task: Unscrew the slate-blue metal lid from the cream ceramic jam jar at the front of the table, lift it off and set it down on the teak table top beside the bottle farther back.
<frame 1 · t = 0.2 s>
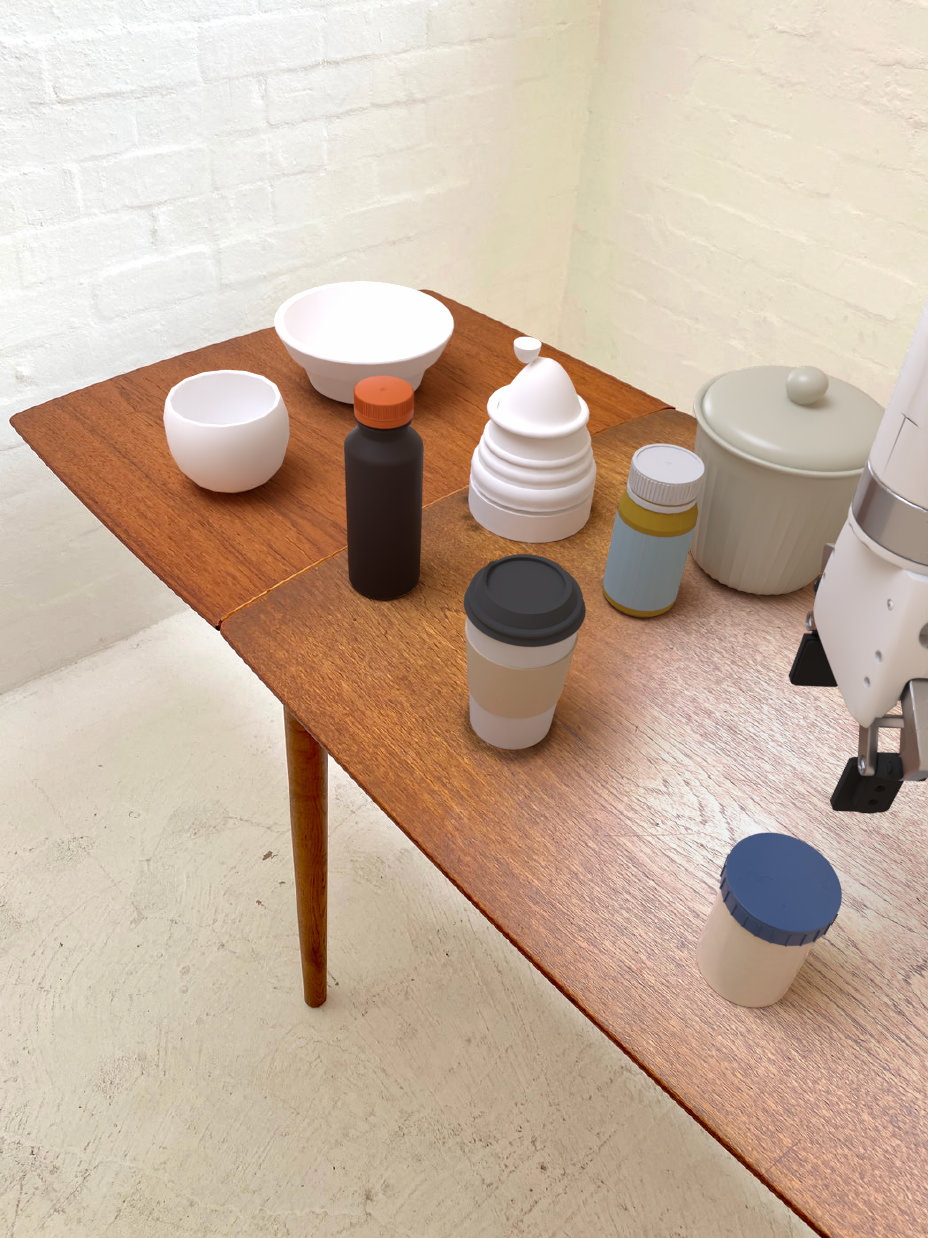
hand: (833, 741, 58), 17 cm above the table, tool pointing down, fingers open, 9 cm apart
jar: (743, 962, 66), on the table
coffee cup: (510, 719, 81), on the table
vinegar: (384, 579, 93), on the table
cup: (234, 479, 104), on the table
bowl: (365, 382, 120), on the table
bottle: (637, 597, 93), on the table
canister: (749, 562, 98), on the table
honey pot: (529, 506, 103), on the table
lid: (782, 882, 59), point 10 cm above the table, screwed on, not yet turned
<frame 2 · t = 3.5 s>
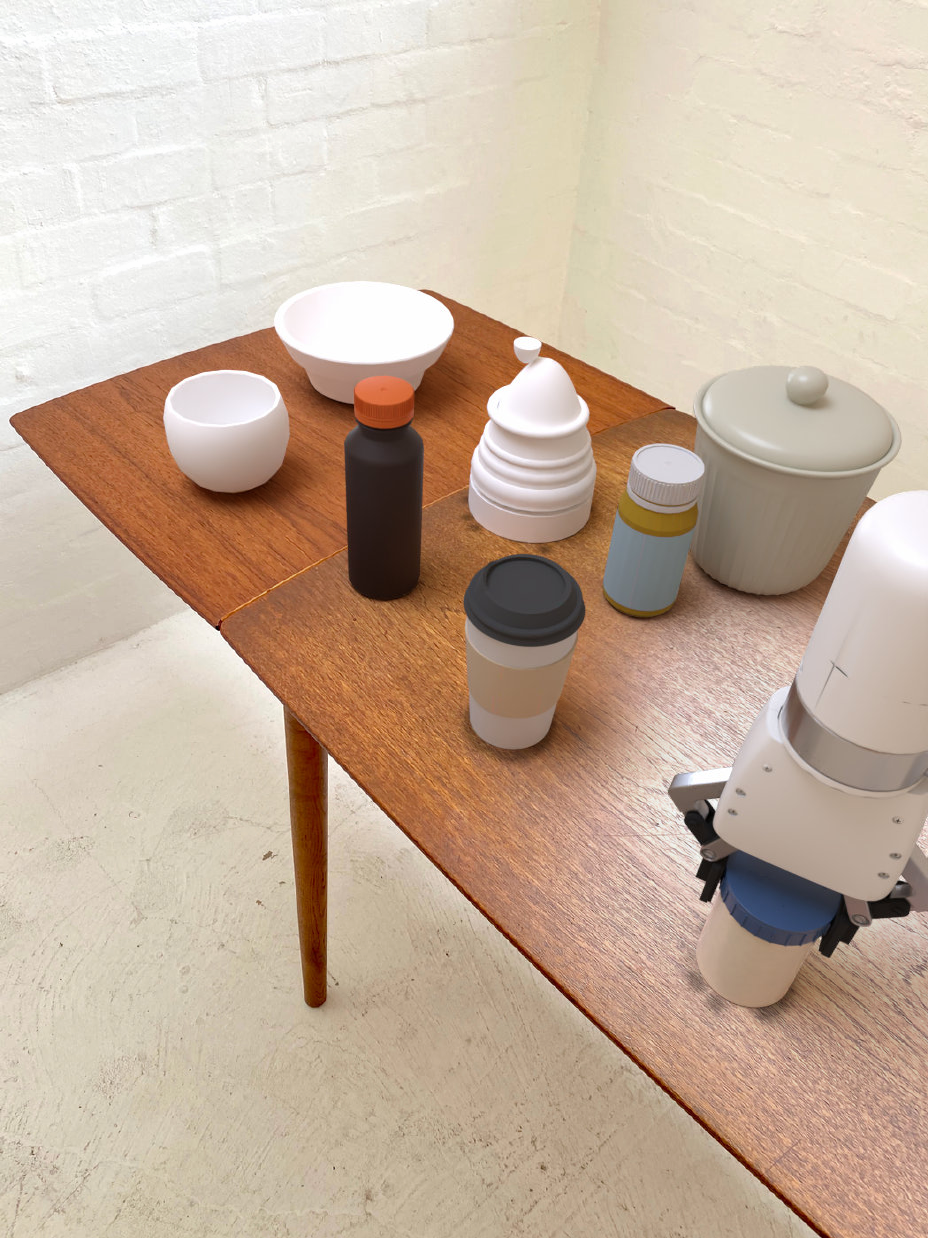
hand: (768, 909, 61), 7 cm above the table, tool pointing down, fingers closed on lid, 6 cm apart
lid: (782, 882, 59), point 10 cm above the table, screwed on, not yet turned, touching gripper
everything else where it was.
when the fingers open (6 cm above the table, at t = 5.7 s): lid stays where it is, point 10 cm above the table.
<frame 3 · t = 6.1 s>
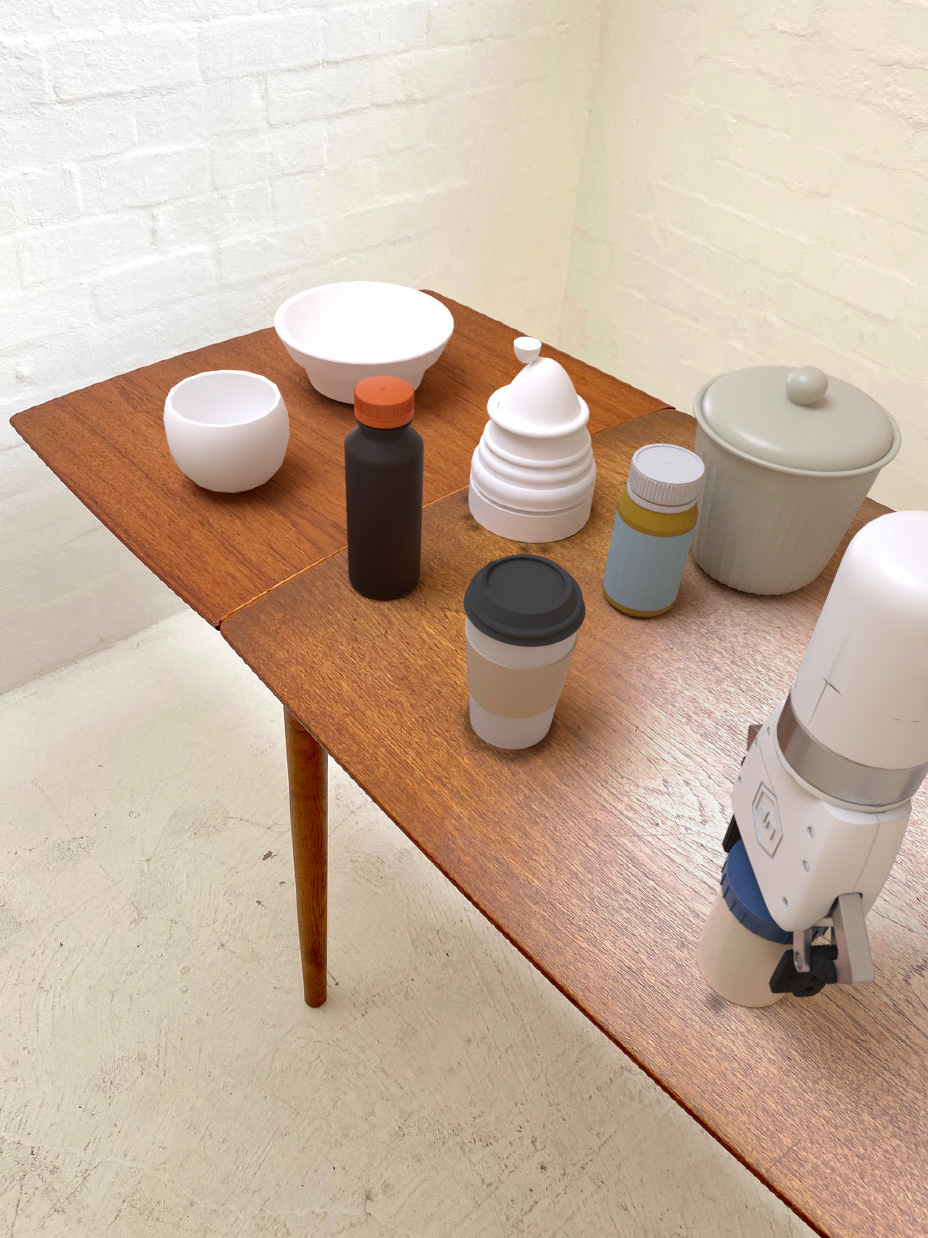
hand: (768, 914, 62), 6 cm above the table, tool pointing down, fingers open, 9 cm apart
lid: (783, 881, 59), point 10 cm above the table, turned 132° so far, risen 0.2 cm, still on its thread
everything else where it was.
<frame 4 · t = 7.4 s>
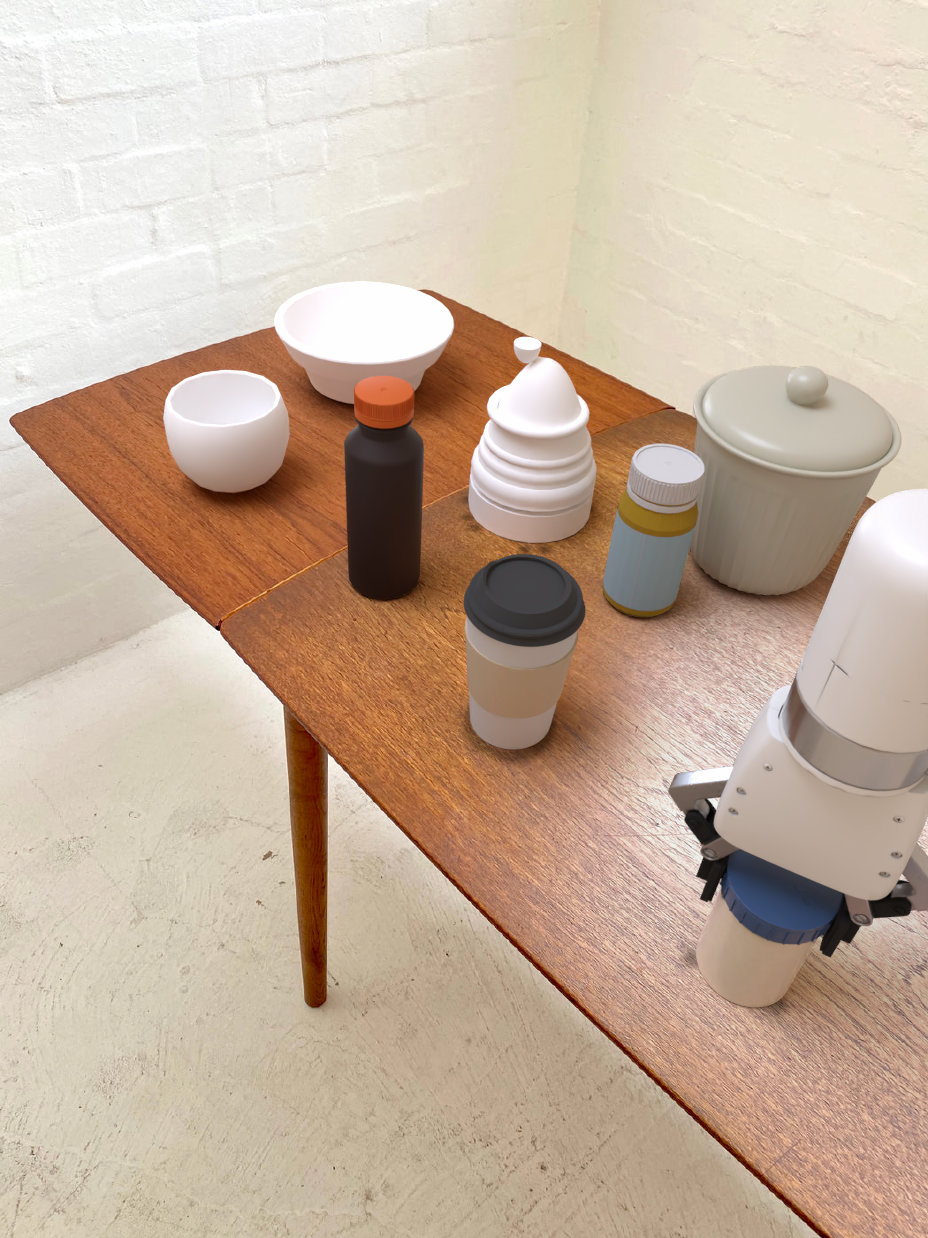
hand: (769, 908, 61), 7 cm above the table, tool pointing down, fingers closed on lid, 6 cm apart
lid: (783, 881, 59), point 10 cm above the table, turned 132° so far, risen 0.2 cm, still on its thread, touching gripper
everything else where it was.
when the fingers open (6 cm above the table, at t = 9.3 s): lid stays where it is, point 10 cm above the table.
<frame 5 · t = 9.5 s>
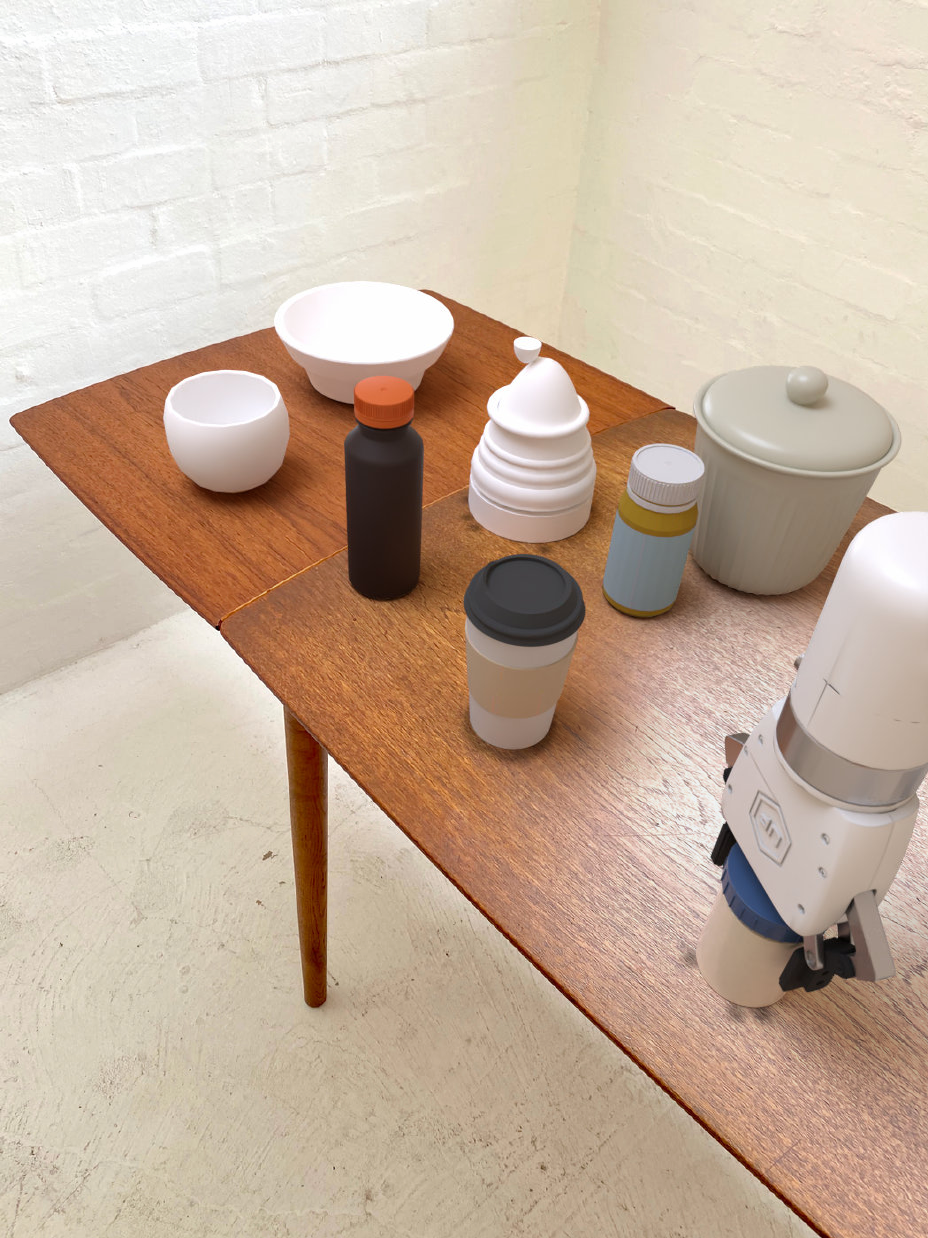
hand: (766, 916, 62), 6 cm above the table, tool pointing down, fingers open, 8 cm apart
lid: (784, 879, 59), point 10 cm above the table, turned 264° so far, risen 0.4 cm, still on its thread
everything else where it was.
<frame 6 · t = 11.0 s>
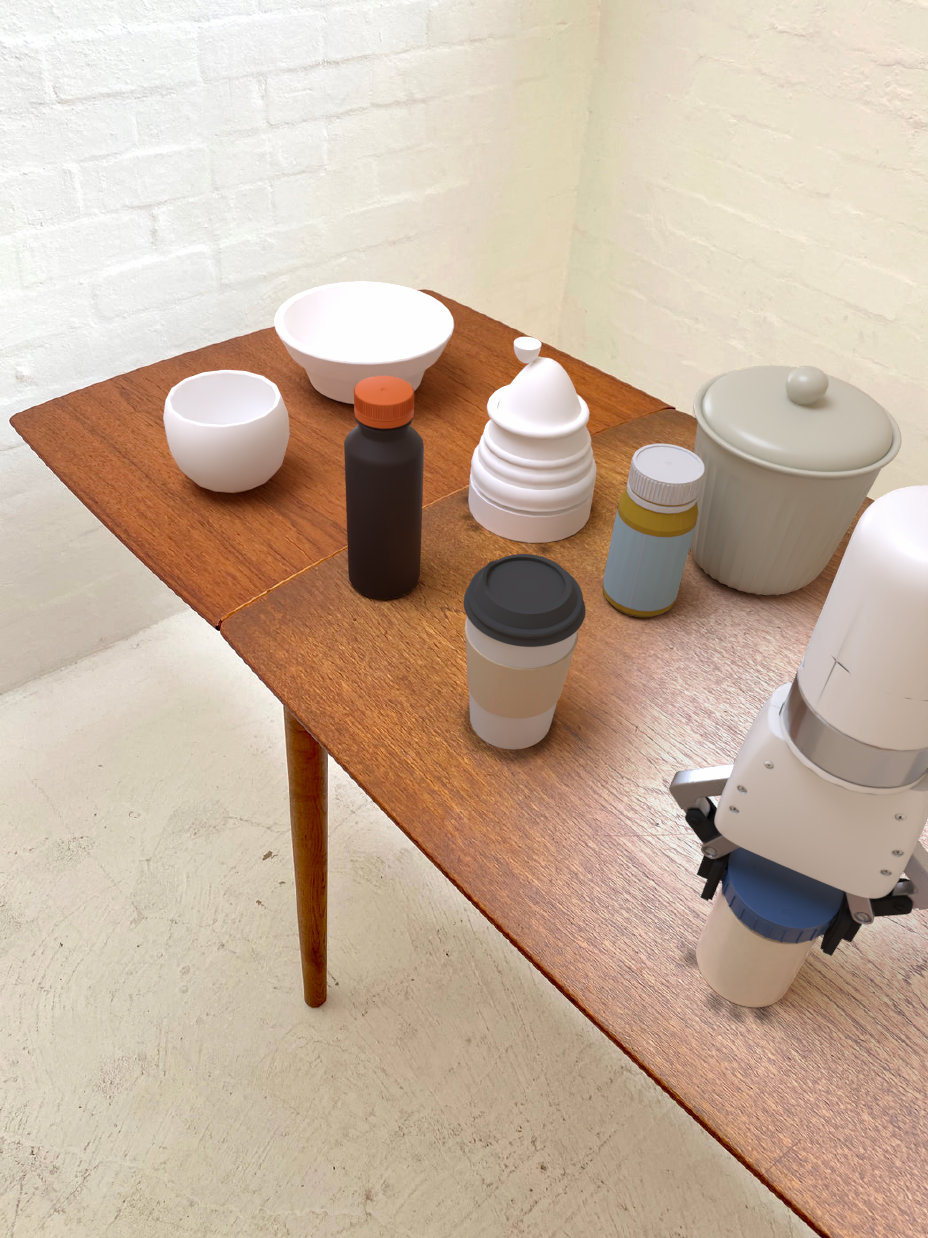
hand: (770, 907, 61), 7 cm above the table, tool pointing down, fingers closed on lid, 6 cm apart
lid: (784, 879, 59), point 10 cm above the table, turned 264° so far, risen 0.4 cm, still on its thread, touching gripper
everything else where it was.
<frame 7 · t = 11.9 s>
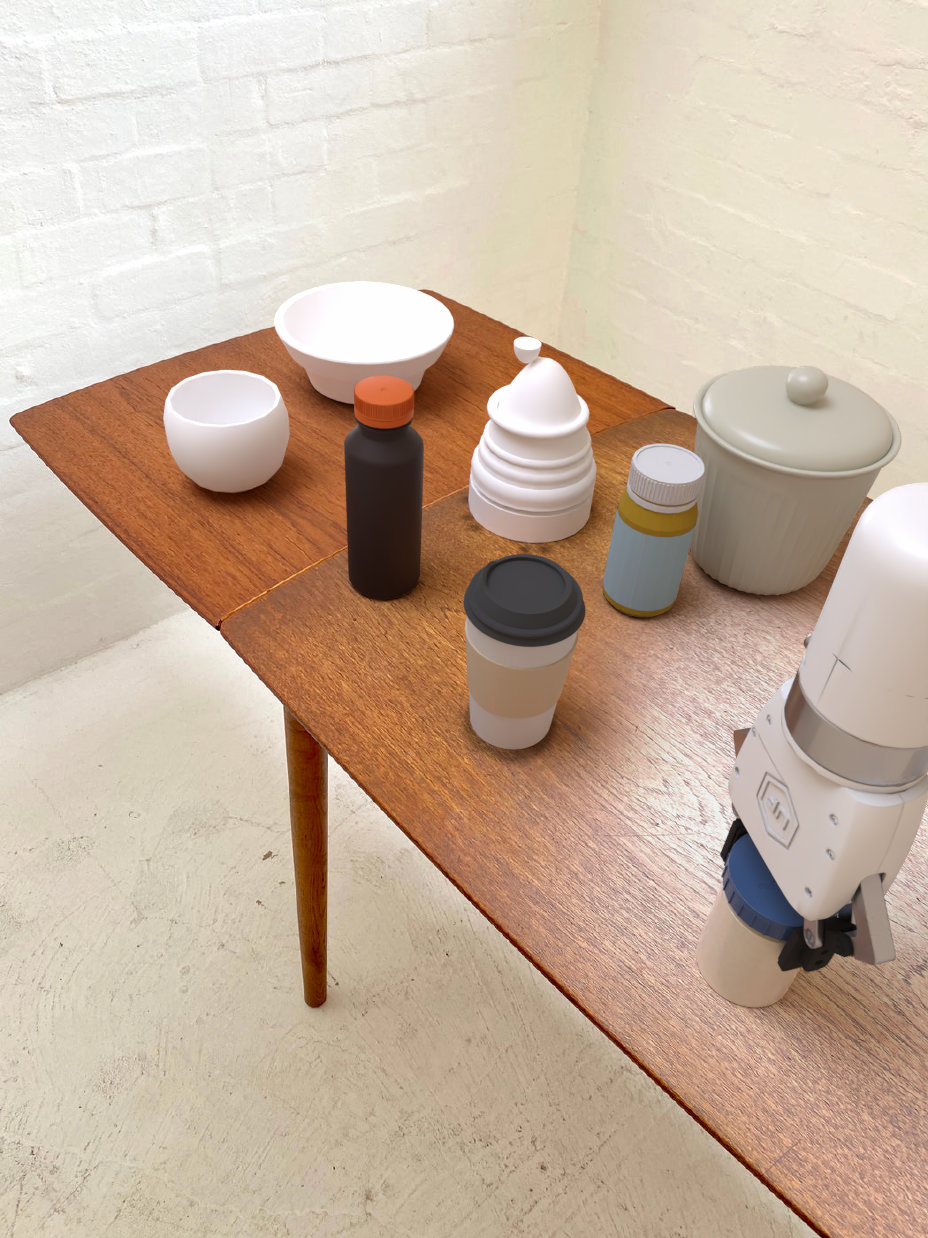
hand: (771, 905, 61), 7 cm above the table, tool pointing down, fingers closed on lid, 6 cm apart
lid: (785, 878, 59), point 10 cm above the table, off its thread, touching gripper
everything else where it was.
when the fingers open (0 cm above the table, at t = 22.1 s): lid stays where it is, point 1 cm above the table.
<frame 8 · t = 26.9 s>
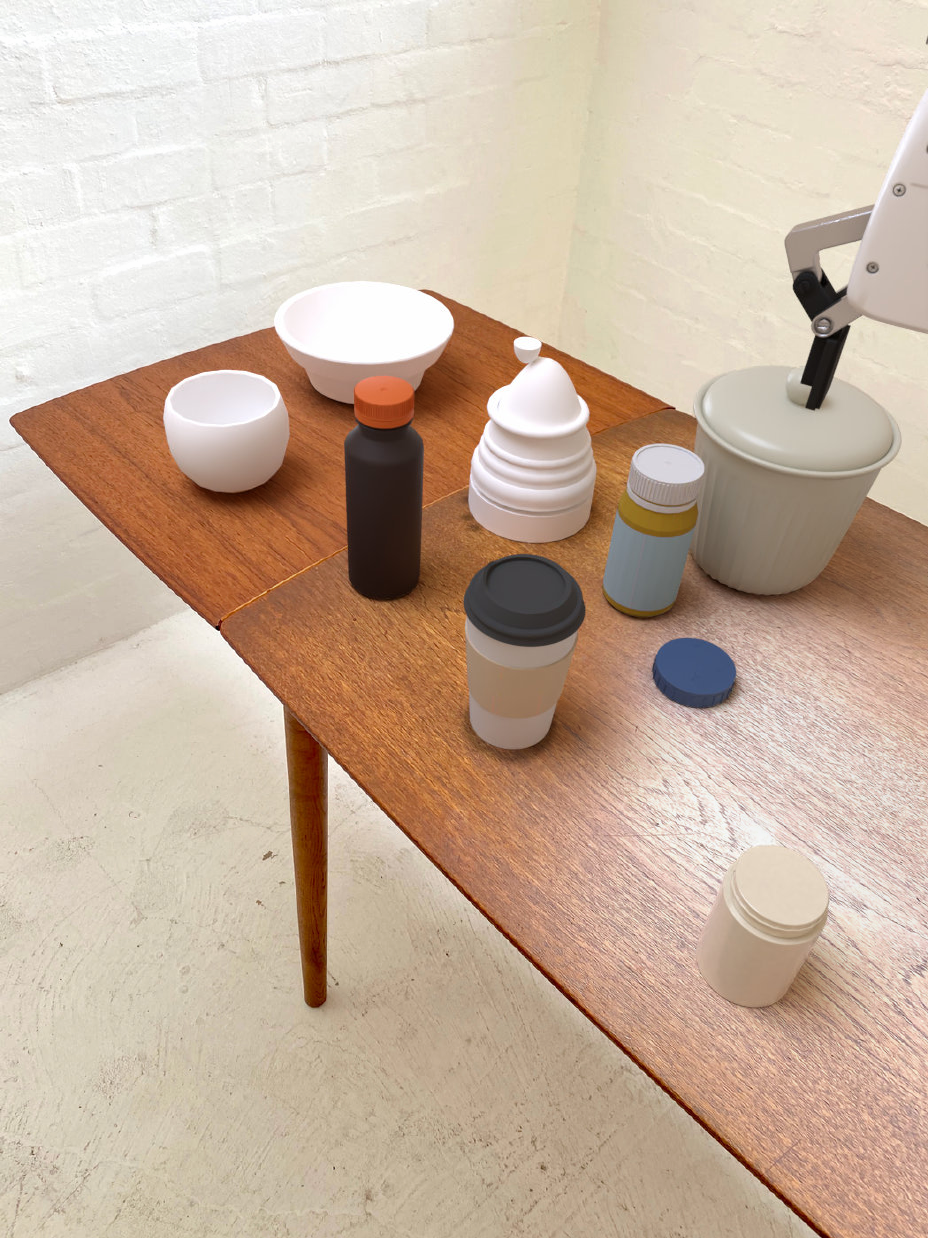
hand: (907, 424, 52), 34 cm above the table, tool pointing down, fingers open, 9 cm apart
lid: (695, 667, 84), point 1 cm above the table, off its thread
everything else where it was.
at the end: lid came off its thread; lid inside the target area on the table beside the bottle (0.1 cm from its centre), point 1.6 cm above the table; the gripper is holding nothing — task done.
